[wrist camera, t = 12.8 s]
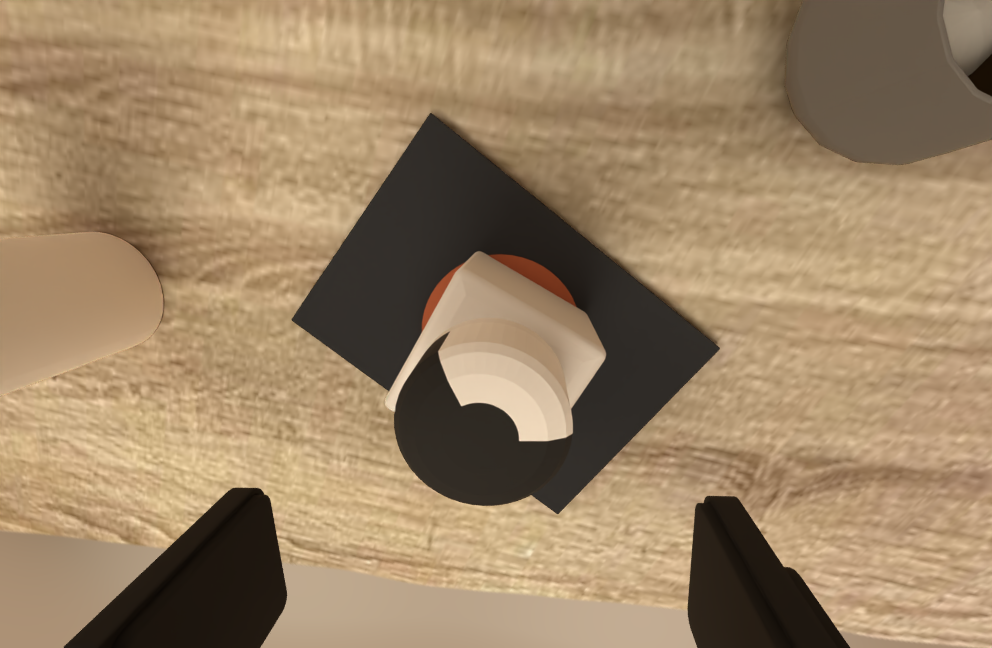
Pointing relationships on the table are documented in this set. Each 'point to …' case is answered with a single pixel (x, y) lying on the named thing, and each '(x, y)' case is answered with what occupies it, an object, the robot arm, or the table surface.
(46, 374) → the cylindrical container
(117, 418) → the table surface
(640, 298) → the mat
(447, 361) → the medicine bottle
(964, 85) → the cup
